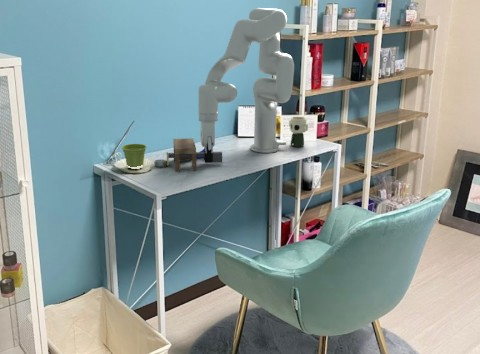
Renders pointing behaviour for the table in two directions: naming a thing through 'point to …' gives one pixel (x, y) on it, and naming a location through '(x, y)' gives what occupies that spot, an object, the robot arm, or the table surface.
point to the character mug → (298, 130)
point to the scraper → (216, 156)
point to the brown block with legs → (184, 151)
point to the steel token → (160, 163)
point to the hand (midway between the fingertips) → (208, 161)
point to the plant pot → (134, 154)
